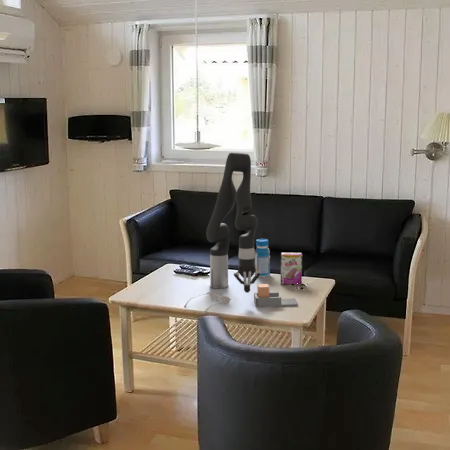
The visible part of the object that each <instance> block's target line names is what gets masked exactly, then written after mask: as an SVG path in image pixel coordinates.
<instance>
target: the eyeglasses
mask: <svg viewBox="0 0 450 450" xmlns="http://www.w3.org/2000/svg"><path fill="white" fill-rule="evenodd" d="M204 295H209V297H210V300H213V301H216V302H217V301H218V300H219V298H220V300H221V301H220V302H218V303H217V304H220V303H224V304H227V305H229V304H230V303H231V300H232V298H230V297H229V296H226V295H219V294H217V293H216V292H212V291H211V292H207V293H204V294H203V296H204ZM201 296H202V294H201V295H198V296H197V295H196V296H195V297H191V298H190V299H189V300H187V302H186V303H185V305H184V306H183V308H186V307H187V305H188V303H189V302H190V301H191V300H192V299H195V298H197V297H201ZM214 305H216V303H215V304H211V305H210V306H209V307H207V308H206V309H205V310H204V311H203V312H202V314H206V313H207V311H208V310H209V308H211V307H213V306H214Z"/></svg>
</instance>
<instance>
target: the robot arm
mask: <svg viewBox="0 0 450 450" xmlns="http://www.w3.org/2000/svg"><path fill="white" fill-rule="evenodd" d="M234 172H236V173H238V172H239V173H242V180H241V182H240V184H239V186H238V188H237V189H236V187H235V184H234V182H233V173H234ZM251 173H252V159H251V156H250V154H249V153H246V152H234V151H231V152H229V153H228V154H227V157H226V162H225V165H224V170H223V178H222V181H221V185H220V188H219V190H218V194H217V198H216V202H215V206H214V208H213V212H212V215H211V217H210V220H209V222H208V225H207V227H206V232H205V233H206V239H207V241H208V242H209V243H215V245H214V246H212V247H211V248H210V250H209V260H210V261H209V264H210V265H209V266H210V267H209V270H210V271H209V276H210V279H209V281H210V282H209V283H210V288H212V289H213V288H214V289H224V288H228V287H229V256H228V255H229V249H230V228H229V226H228V224H227V223H224V222H223V221H224V219H225V218H227V216H228V215H229V214H230V212H231V211H232V210H233V209H234V207H235V204H236V215H235V220H234V227H235V228H236V230H238V231H248V232H247V233H244V234H241V235H239V236H238V237H239V238H238V269H237V271H236V272H234V273H233V276H234V277H235V279H236V280H237V281H238V282H239V284H241V285H243V290H244V292H245V294H246V293H247V294H248V293H250V292H251V285H252V284H255V282H257V280H258V279H259V278H260V277H259V276H260V273H259V272H257V271H256V269H255V255H256V253H255V235H256V230H257V228H258V227H257V226H258V223H259V222H258V221H259V220H258V218H257V216H256V215H255V214H244V213H248V212H250V211H251V210H252V207H253V206H252V204H253V203H252V196H251V176H252V175H251ZM240 276H241V277H242V279H243V280H242V279H241V277H240ZM252 277H253V278H252Z"/></svg>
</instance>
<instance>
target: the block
mask: <svg viewBox="0 0 450 450" xmlns="http://www.w3.org/2000/svg"><path fill="white" fill-rule="evenodd" d="M256 287H257V291H256V293H258V298H262V297H269V292H270V285H269V284H268V283H258V284H257V286H256Z"/></svg>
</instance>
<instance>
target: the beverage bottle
mask: <svg viewBox="0 0 450 450" xmlns="http://www.w3.org/2000/svg"><path fill="white" fill-rule="evenodd" d="M255 242H256V249H254V251H255V269H256V271H257V272H259V273H260V276H259V277H258V278H266V277H267V278H268V277H269V276H270V275H271V266H270V265H271V264H270V263H271V260H270V259H271V255H270V254H271V251H270V248H269V239H268V238H259V239H256V241H255Z"/></svg>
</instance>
